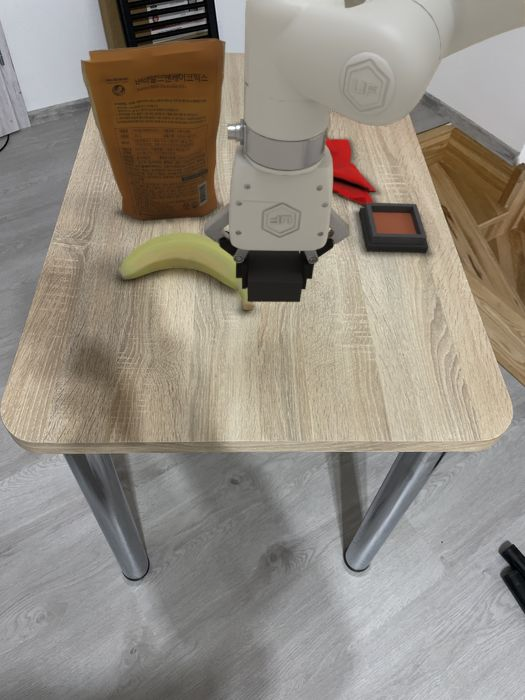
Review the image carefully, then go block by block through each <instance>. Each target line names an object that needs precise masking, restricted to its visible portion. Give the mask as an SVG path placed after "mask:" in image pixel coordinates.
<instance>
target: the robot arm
mask: <svg viewBox="0 0 525 700" xmlns="http://www.w3.org/2000/svg"><path fill="white" fill-rule="evenodd" d="M244 10H245V11H244V12H245V13H244V62H243V63H244V65H243V66H244V68H243V69H244V71H243V118H240V120H239V121H238V122H235V123H227V135H226V136H227V140H229V141H235V142H239V143H238V144H237V146H236V150H235V154H234V157H233V163H232V169H231V178H230V183H229V201H228V203H227V204H226V205H224V206H223V207H222V208H221V209H220V210H219V211H217V212H216V213H215V214H214V215H213V216H211V217H210V218H208V220H207V221H206V222H205V223H204V227H203V233H204V234H203V235H206V236H208V237H209V238H210V239H212V240H213V241H214V242H217V243H218V244H219V246H220V247H221V248H222V249H223V250H225V251H226V252H227V253H229V254H230V255H231V256H232V257H233V260H234V261H235V262H236V278H242V289H246V288H248V272H249V251H250V250H273V251H299V252H300V263H301V272H302V280H303V284H302V290H306V289H307V281H308V280H312V279H313V274H314V269H315V268H314V267H315V264H317V263H319V260H320V259H319V258H320V257H322V256H323V255H325V254H326V253H328V252H329V251H331V250H332V249H334V246H335V245H338V244H339V243H341V242H342V241H344V240H345V239H347V238H348V237H350V236H351V231H350V227H349V224H348V223H347V222H346V220H344V218H342V217H341V216H340V215H339V214H338V213H337V212H336V211H335V210H334V209H333V207H332V203H333V191H332V190H333V162H332V156H331V154H330V151H329V149H328V147H327V146H326V138H327V137H328V132H329V131H328V130H329V123H330V118H331V112H332V111H333V112H335V113H336V114H338V115H340V116H342V117H345V118H346V119H349V120H351V121H352V122H356V123H358V124H362V125H366V126H369V127H370V126H372V127H384V126H389V125H393V124H395V123H397V122H399V121H402V120H403V119H404V118H406V117H407V116H408V115H410V113H412V111H414V109H415V108H416V107H417V106H418V104H419V103H420V101H421V100H422V98H423V96H424V95H425V93H426V91H427V89H428V87H429V85H430V83H431V81H432V79H433V77H434V76H435V73H436V72H437V70H438V68H439V66H440V64H441V63H442V60H443V59H445V58H447V57H449V56H451V55H453V54H457V53H458V52H460V51H463V50H465V49H467V48H470V47H471V46H474V45H476V44H479V43H481V42H483V41H487V40H489V39H491V38H493V37H497V36H499V35H502V34H504V33H507V32H510V31H513V30H516V29H520V28H524V27H525V0H364V2H363V3H360V4H358V5H355V6H352V7H346V3H345V0H245V9H244ZM227 226H228V230H226V229H224V228H226V227H227Z"/></svg>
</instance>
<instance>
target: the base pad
mask: <svg viewBox="0 0 525 700" xmlns="http://www.w3.org/2000/svg"><path fill="white" fill-rule="evenodd" d="M419 211H420V210H419V208H418V205H417V203H401V202H400V203H397V202H393V203H392V202H374V203H368V202H366V204H365V205H364V207H361V206H360V207H359V210H358V215H359V219H360V225H361V229H362V234H363V239H364V240H363V241H364V246H365V250H366V252H379V253H380V252H383V253H388V252H389V253H422V254H423V253H424V254H427V253H428V250H429V244H428V241H427V234H426V230H425V227H424V223H423V220H422V218H421V215H420V212H419Z"/></svg>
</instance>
